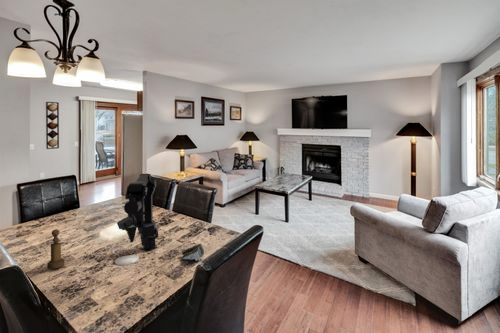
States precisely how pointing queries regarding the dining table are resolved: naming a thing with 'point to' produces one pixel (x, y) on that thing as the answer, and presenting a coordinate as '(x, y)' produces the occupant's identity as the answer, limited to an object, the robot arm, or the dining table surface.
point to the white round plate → (126, 260)
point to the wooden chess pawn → (55, 252)
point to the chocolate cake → (193, 252)
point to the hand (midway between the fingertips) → (137, 244)
